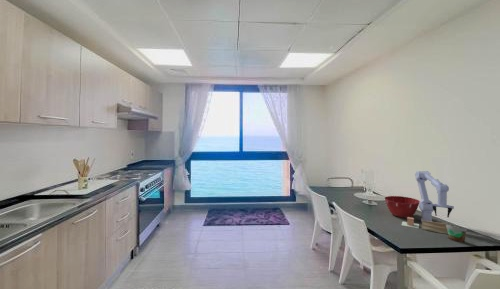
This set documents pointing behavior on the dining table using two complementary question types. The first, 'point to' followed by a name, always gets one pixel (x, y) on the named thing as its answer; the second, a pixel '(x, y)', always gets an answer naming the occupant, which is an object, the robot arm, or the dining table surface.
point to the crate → (434, 226)
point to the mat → (410, 225)
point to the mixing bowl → (402, 205)
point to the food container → (456, 233)
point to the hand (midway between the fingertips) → (441, 216)
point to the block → (410, 221)
